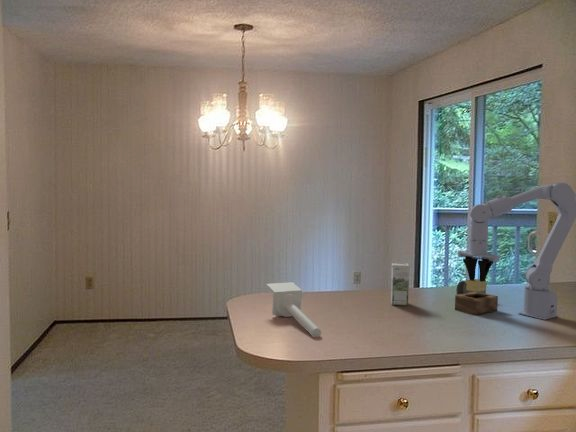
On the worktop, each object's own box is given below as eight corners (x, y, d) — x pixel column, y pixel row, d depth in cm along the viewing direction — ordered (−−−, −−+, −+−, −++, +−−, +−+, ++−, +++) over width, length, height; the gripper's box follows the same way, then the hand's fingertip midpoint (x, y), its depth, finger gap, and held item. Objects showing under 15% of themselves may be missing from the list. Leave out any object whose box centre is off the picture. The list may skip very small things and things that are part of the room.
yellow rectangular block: (476, 288, 190) (477, 278, 189) (485, 290, 187) (486, 280, 187) (466, 290, 186) (466, 280, 186) (475, 291, 183) (475, 281, 183)
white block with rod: (292, 282, 185) (332, 317, 155) (291, 307, 186) (330, 346, 157) (266, 283, 181) (302, 319, 152) (265, 309, 183) (300, 349, 154)
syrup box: (406, 302, 198) (407, 262, 197) (408, 306, 193) (409, 264, 192) (390, 301, 199) (391, 261, 198) (391, 305, 193) (392, 264, 192)
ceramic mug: (487, 302, 200) (487, 281, 200) (468, 303, 198) (469, 282, 197) (468, 296, 210) (468, 276, 210) (450, 298, 208) (450, 277, 207)
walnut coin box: (474, 305, 195) (474, 291, 194) (497, 310, 187) (497, 296, 187) (454, 309, 188) (455, 295, 188) (477, 315, 181) (478, 300, 181)
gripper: (453, 238, 189) (451, 278, 190) (490, 243, 177) (489, 285, 178) (465, 237, 193) (464, 276, 194) (503, 241, 182) (501, 282, 182)
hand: (477, 280), depth 186 cm, fingers closed on yellow rectangular block, 3 cm apart
